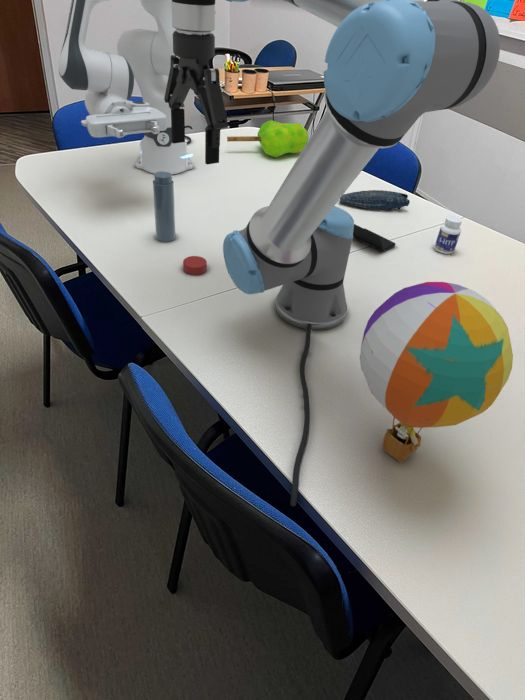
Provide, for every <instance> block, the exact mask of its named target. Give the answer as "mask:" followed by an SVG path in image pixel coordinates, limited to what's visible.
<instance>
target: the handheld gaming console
mask: <svg viewBox="0 0 525 700" xmlns="http://www.w3.org/2000/svg"><path fill="white" fill-rule="evenodd" d="M353 239H355V240H357V241H359V242H361V243H363V244H366V245H368V246H369V247H370V248H372V249H374V250H377V251H379V252H381V253H384V252H386V251H388V250H390V249H392V248H394V247H396V242H394V241H391V239H388V238H386V237H384V236H382V235H380V234H378V233H376V232H374V231H371V230H369V229H367V228H363V227H361V226H359V225H357V224H355V223H354V230H353Z"/></svg>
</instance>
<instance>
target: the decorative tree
mask: <svg viewBox="0 0 525 700" xmlns="http://www.w3.org/2000/svg"><path fill="white" fill-rule="evenodd" d="M226 138H227V139H226V142H259V144H260V146H261V148H262V150H263V152H264V153H265V155H268V156H270V157H272V158H278V157H281V156H283V155H285V154H298V153H301V152H302V150H303V149H304V147H305V145H306V144H307V142H308V140H309V132H308V131H307V128H305V127H304V126H303V125H302V124H301V123H298V122H296V123H295V122H293V123H291V122H289V123H288V122H285V123H282V122H278V121H275V120H272V119H270V120H268V121H266V122H263V123H262V124H261V125H260V127H259V129H258V131H257V136H256V135H251V136H250V135H247V136H246V135H245V136H244V135H243V136H242V135H241V136H227V137H226Z"/></svg>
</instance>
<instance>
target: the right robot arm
mask: <svg viewBox="0 0 525 700" xmlns="http://www.w3.org/2000/svg"><path fill="white" fill-rule="evenodd" d="M225 1H226V2H230V3H231V2H236V3H237V2H238V3H245V2H248V1H249V0H225ZM283 1H285V2H288V3H289V4H291V5H293V6H295V7H297V8H299V9H302V10H304V11H306V12H307V13H310V14H311V15H313V16H316V17H318V18H319V19H321V20H323V21H325V22H327V23H329V24H331V25H333V26H335V27H336V29H335V31H334V33H333V35H332V36H331V39H330V41H329V44H328V46H327V49H326V54H325V57H324V62H325V63H326V64H327V68H326V69H325V70H323V85H324V104H325V106H326V110H325V112H324V114H323V116H322V117H321V119H320V121H319V123H317V125H316V127H315V129H314V130H313V132H312V134H311V136H310V137H309V138H308V142H307V144H306V145H305V147H304V149H303V150H302V151H300V154H299V155H298V157H297V158H296V160H295V162H294V163H293V166H292V167H291V169H290V171H289V172H288V174H286V177H285V179H284V180H283V182H282V183H281V185H280V187H279V189H278V191H277V192H276V193H275V195H274V197H273V199H272V200H271V202H270V204H269V205H267V206H264V207H261V208H259V209H258V210H256V211H255V212H254V213H253V215H252V216H251V217H250V219H249V221H248V223H247V225H246V226H245V227H244V228H243V229H241V230H233V231H232V232H230V233H228V234H227V235H225V237H224V239H223V244H222V254H223V259H224V265H225V268H226V270H227V273H228V275H229V277H230V279H231V280H232V282H233V284H234V285H235V287H236V288H237V289H238V290H239V291H241V292H242V293H244V294H246V295H255V294H259V293H262V294H263V293H264V292H265V291H268V290H272V289H274V288H277V287H280V286H281V287H280V290H279V291H278V293H277V295H276V300H275V311H276V313H277V315H278V316H279V317H280V318H281V319H282V320H283V321H284V322H286V323H287V324H289V325H291V326H293V327H296V328H300V329H304V330H306V333H305V343H304V347H303V352H302V355H301V358H300V362H299V378H300V384H301V388H302V393H303V408H304V409H303V410H304V411H303V412H304V413H303V415H304V418H303V429H302V436H301V440H300V442H299V443H300V444H299V447H298V450H297V453H296V456H295V460H294V465H293V470H292V480H291V481H292V482H291V494H290V502H289V504H290V506H291V507H296V506H297V503H298V497H299V495H298V494H299V480H300V470H301V466H302V461H303V458H304V457H303V456H304V453H305V450H306V447H307V444H308V439H309V433H310V422H311V421H310V420H311V410H310V409H311V408H310V395H309V394H310V393H309V389H308V384H307V379H306V371H305V370H306V362H307V357H308V354H309V351H310V346H311V340H312V339H311V337H312V331H324V330H325V331H326V330H329V329H333V328H336V327H337V326H339V325H340V324H342V323H343V322H344V320H345V318H346V315H347V310H348V305H347V297H346V292H345V286H344V280H345V275H346V271H347V267H348V262H349V257H350V253H351V247H352V244H353V243H352V242H353V240H354V238H353V230H354V224H355V220H354V218H353V216H352V215H351V214H350V213H349V212H348V211H346V210H345V209H343V208H340V207H339V206H336V204H338V202H339V201H340V198H341V197H342V195H343V194H346V192H347V190H348V189H349V188H350V187H351V185H352V184H353V183H354V181H355V180H356V179H357V177H358V176H359V175H360V174H361V172H362V171H363V170H364V168H365V167H366V166H367V164H368V163H369V162H370V161H371V159H372V158H373V157H374V155H375V154H377V152H378V150H379V149H388V148H389V149H390V148H392V147H394V146H396V145H397V144H398V143H399V142H401V140H402V139H403V138H404V136H405V135H407V133H408V131H409V130H410V129H411V128H412V127H413V126H414V124H415V123H416V122H417V120H418V119H419V118H420V117H421V116H422V115H424V114H425V113H429V112H430V113H431V112H436V111H437V112H438V111H443V110H450V109H453V108H457V107H459V106H462V105H464V104H466V103H468V102H469V101H471V100H473V99H474V98H475V97H476V96H478V94H480V93H481V92H482V91H483V90H484V88H485V87H486V86H487V85H488V83H489V82H490V80H491V79H492V78H493V75H494V73H495V71H496V69H497V66H498V62H499V59H500V53H501V38H500V33H499V28H498V26H497V23H496V21H495V19H494V18H493V17H492V15H491V14H490V13H489V12H488V11H487V10H486V9H484V8H483V7H481V6H479V5H478V4H476V3H472V2H468V1H461V0H283ZM171 3H172V27H173V28H175V29H176V31H174V33H173V53H174V54H175V55H171V63H170V72H169V76H167V77H168V78H167V82H166V83H167V87H166V92H165V97H164V100H165V102H166V103H169V108H171V129H172V143H182V142H186V138H185V135H186V128H185V126H186V122H185V117H186V116H185V100H186V99H187V96H188V94H189V92H190V90H192V91H193V93H194V95H196V96H197V99H198V101H199V104H200V107H201V111H202V113H203V116H204V119H205V122H206V127H205V128H204V130H205V132H204V133H205V136H204V137H205V138H204V140H205V141H204V143H205V144H204V156H205V157H204V164H205V165H207V166H208V165H214V164H219V163H220V146H221V130H222V129H226V128H228V126H229V123H228V116H227V113H226V108H225V107H226V106H225V103H224V98H223V92H222V87H221V83H220V82H221V81H220V70H219V68H216V67H215V68H210V65H209V61H210V59H213V58H214V57H215V55H216V54H215V51H216V49H215V48H216V36H215V34H214V33H212V32H213V31H215V29H216V28H215V27H216V22H215V21H216V0H172V1H171ZM170 95H172V96H170Z"/></svg>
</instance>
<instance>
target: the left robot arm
mask: <svg viewBox="0 0 525 700" xmlns="http://www.w3.org/2000/svg"><path fill="white" fill-rule="evenodd" d="M107 1H109V0H71V3H70V7H69V14H68V20H67V24H66V29H65V36H64V40H63V44H62V47H61V51H60V55H59V58H58V74H59V77H60V78H61V80H62V81H63V82H64V83H65V85H67V86H68V87H69V88H70V89H71V90H76V91H87V92H86V93H85V96H84V106H85V109H86V111H87V113H88V115H86V117H85V118H84V119H82V120H81V121H80V124H81V125H82V126H83V127H85V128H86V129H87V132H88V134H89V135H90V136H91V137H92V138H97V139H98V138H106V137H116V138H117V139H121V138H124V137H125V136H128V135H134V134H135V135H136V134H144V137H143V138H142V139H141V140H140V141H139V148H140V149H139V150H140V151H139V152H140V153H139V154H140V157H139V158H138V159H137V161H136V162H135V168H137V169H140V170H144V171H145V172H147V173H150V174H153V175H154V174H155V173H156V172H169V173H171V175H176V174H180V173H183V172H185V171H188V170H192V169H194V163H192V162H191V159H190V158H191V157H193V156H194V154H193V153H190V154H188V145H189V144H190V143H191V142H192V138H191V137H190V136H188V135H186V134H185V139H187V141H185V142H182V143H172V129H171V108H169V103H166V102H165V100H164V97H165V92H166V87H167V82H166V80H165V79H164V76H167V77H169V72H170V63H171V55H175V54H174V53H173V33H174V31H176V29H175V28H173V27H172V3H171V1H172V0H139V1H140V4H141V6H142V8H144V10H145V11H146V12H147V13H148V14H149V15H151V16H152V17H153V19H154V20H155V22H156V25H157V26H156V27H157V30H151V29H143V28H134V29H127V30H123V31H122V32H121V33H120V35H119V37H118V39H117V44H116V51H117V54H115V53H111V52H107V51H100V50H96V49H92V48H88V47H86V45H85V43H86V37H87V33H88V29H89V28H88V27H89V23H90V22H89V21H90V17H91V13H92V10H93V8H95V6H97V4H99V3H102V2H107ZM135 82H136V84H137V85H138V89H139V90H140V91H139V92H140V93H141V98H142V101H136V100H130V99H131V98H132V96H133V91H134V86H135ZM170 96H172V95H170ZM185 129H190V130H193V127H192V125H185Z"/></svg>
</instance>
